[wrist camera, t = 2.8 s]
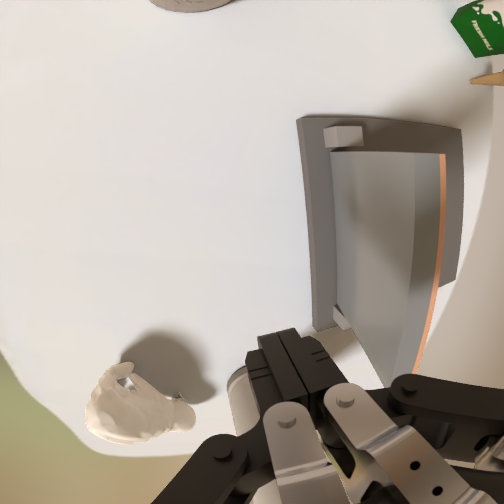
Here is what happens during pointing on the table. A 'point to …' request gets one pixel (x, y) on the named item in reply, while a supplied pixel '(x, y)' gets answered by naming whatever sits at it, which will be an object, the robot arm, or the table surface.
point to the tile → (389, 251)
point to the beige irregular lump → (134, 409)
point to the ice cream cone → (490, 79)
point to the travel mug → (248, 425)
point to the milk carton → (481, 26)
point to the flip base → (322, 197)
